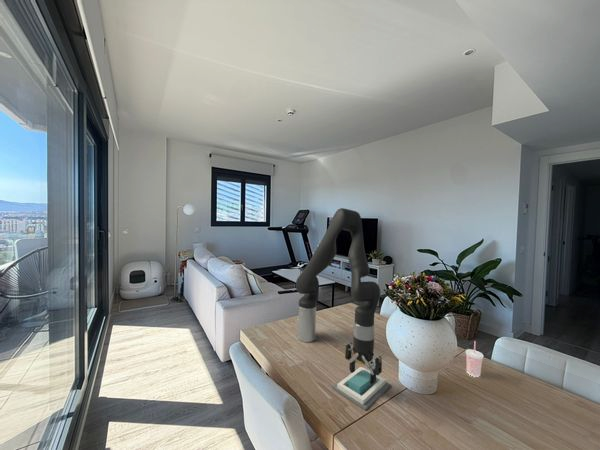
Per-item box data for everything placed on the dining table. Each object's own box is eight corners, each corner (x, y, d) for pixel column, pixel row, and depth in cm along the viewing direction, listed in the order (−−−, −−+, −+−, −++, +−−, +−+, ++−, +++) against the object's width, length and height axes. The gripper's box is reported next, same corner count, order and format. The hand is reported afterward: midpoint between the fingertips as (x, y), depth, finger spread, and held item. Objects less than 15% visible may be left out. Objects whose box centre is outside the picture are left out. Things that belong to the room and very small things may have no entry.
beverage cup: (461, 369, 106) (462, 337, 106) (475, 369, 106) (477, 337, 106) (471, 378, 100) (472, 344, 99) (486, 379, 100) (488, 345, 99)
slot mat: (332, 388, 92) (332, 383, 92) (358, 368, 104) (359, 363, 104) (365, 410, 82) (365, 404, 82) (390, 385, 94) (390, 380, 94)
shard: (370, 368, 106) (370, 364, 106) (353, 369, 105) (353, 365, 105) (360, 354, 117) (360, 350, 117) (345, 355, 115) (345, 351, 115)
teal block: (364, 376, 98) (364, 369, 98) (375, 383, 95) (375, 376, 94) (348, 387, 92) (348, 379, 92) (359, 395, 88) (359, 387, 88)
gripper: (386, 338, 90) (384, 382, 91) (353, 325, 100) (351, 364, 101) (376, 345, 85) (374, 392, 85) (342, 331, 95) (340, 372, 96)
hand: (362, 377), depth 93 cm, fingers open, 8 cm apart
